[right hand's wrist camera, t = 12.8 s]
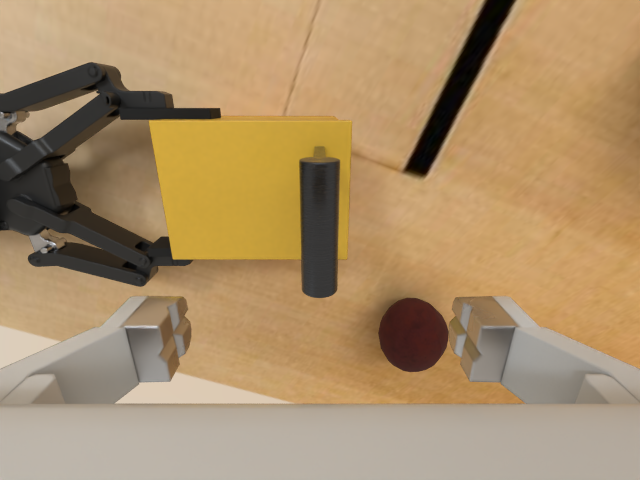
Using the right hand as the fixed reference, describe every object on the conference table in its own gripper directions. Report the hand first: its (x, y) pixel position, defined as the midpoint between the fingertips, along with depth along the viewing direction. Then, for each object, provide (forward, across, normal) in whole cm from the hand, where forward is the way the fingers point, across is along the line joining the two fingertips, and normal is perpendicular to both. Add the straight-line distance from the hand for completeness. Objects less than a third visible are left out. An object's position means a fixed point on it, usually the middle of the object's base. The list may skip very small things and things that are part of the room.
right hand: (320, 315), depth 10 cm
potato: (+25, +10, -17) cm, 32 cm away
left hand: (+18, -8, 0) cm, 20 cm away
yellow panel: (+16, -5, 0) cm, 17 cm away
